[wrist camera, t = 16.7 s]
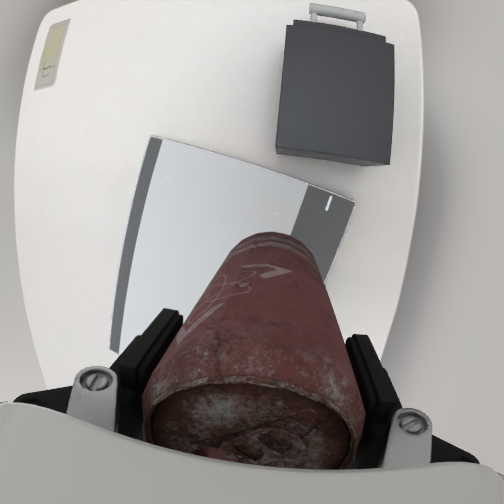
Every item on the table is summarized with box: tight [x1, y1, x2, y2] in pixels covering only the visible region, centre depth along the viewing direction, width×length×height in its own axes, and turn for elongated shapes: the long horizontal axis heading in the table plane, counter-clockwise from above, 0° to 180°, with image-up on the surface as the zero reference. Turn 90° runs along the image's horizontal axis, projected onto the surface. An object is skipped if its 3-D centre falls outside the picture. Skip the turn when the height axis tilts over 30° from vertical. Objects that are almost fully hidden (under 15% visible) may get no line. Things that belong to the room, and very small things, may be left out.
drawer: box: [293, 3, 386, 42], centre depth 26 cm, size 15×9×7 cm, turn 174°
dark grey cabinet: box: [275, 25, 394, 166], centre depth 27 cm, size 12×10×8 cm
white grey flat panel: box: [109, 135, 357, 355], centre depth 37 cm, size 32×26×1 cm
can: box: [142, 231, 366, 470], centre depth 13 cm, size 6×6×14 cm
